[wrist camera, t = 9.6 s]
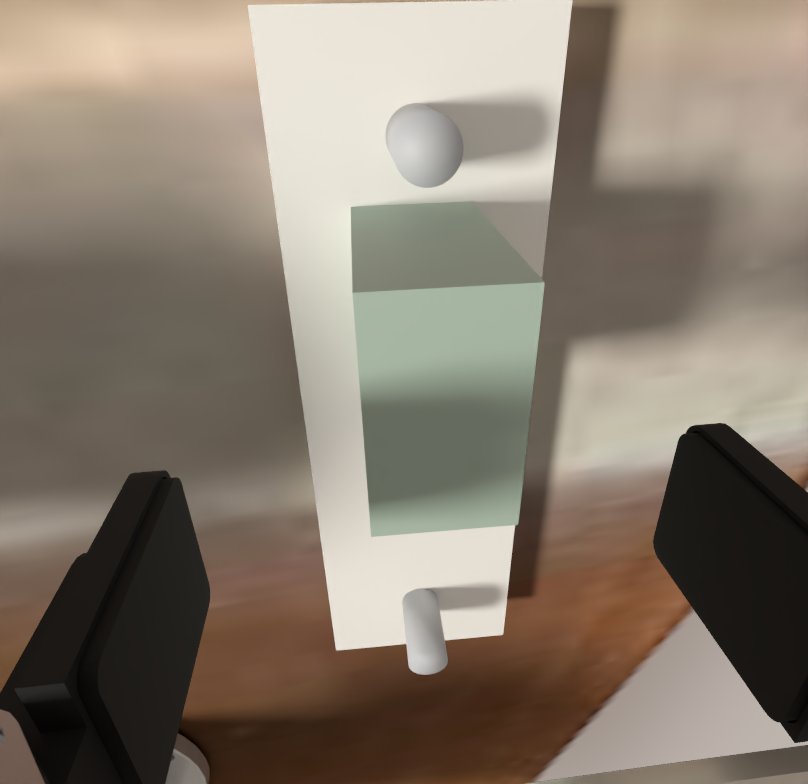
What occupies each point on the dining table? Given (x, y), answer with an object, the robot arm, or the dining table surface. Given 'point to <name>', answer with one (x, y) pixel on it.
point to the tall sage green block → (442, 365)
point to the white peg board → (396, 185)
